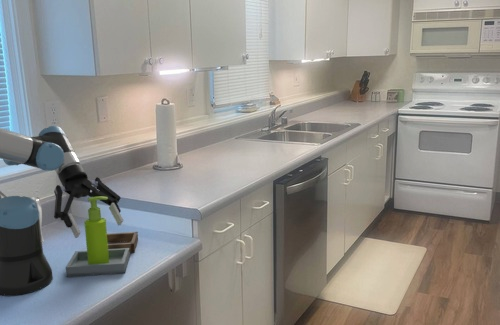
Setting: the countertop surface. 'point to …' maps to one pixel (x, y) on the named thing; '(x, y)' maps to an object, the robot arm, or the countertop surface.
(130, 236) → the holder collar
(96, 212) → the soap dispenser
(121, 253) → the tray
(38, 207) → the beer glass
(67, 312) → the countertop surface
